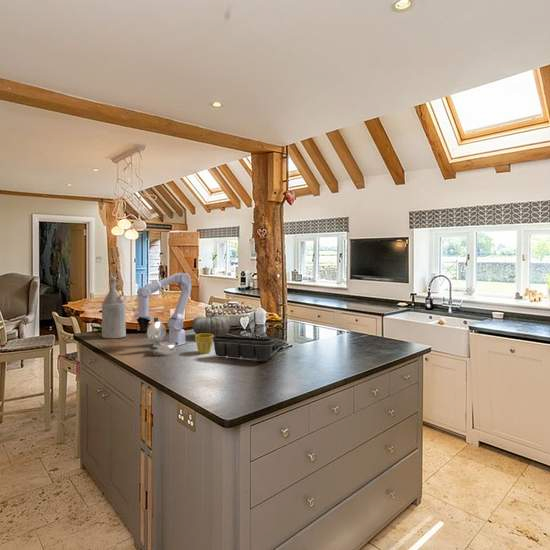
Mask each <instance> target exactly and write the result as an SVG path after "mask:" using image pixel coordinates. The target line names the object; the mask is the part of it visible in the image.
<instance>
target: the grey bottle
mask: <svg viewBox="0 0 550 550" xmlns="http://www.w3.org/2000/svg"><path fill="white" fill-rule="evenodd" d="M109 283H110V285H109V287H110V290H109V291H108V293H107V295H106V296H105V298H104V299H103V301H102V303H101V337H102V338H103V339H120V338H125V337H126V336H127V331H126V330H127V327H126V325H127V321H126V314H127V313H126V302H125V300H126V299H127V297H126V294H120V293H119V292H118V289H120V283H119V282H118V281H117V277H116V276H109ZM117 284H118V286H117ZM116 287H117V289H116ZM122 297H123V298H124V299H123V298H122Z"/></svg>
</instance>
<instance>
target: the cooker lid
mask: <svg viewBox="0 0 550 550" xmlns="http://www.w3.org/2000/svg"><path fill="white" fill-rule="evenodd" d="M166 334H167V329H166V326H165V324H164V323H163V322H161V321H159V316H157V317H153V321H152V322H151V323H149V324H148V326H147V330H146V336H147V338H148V341H150V342H151V343H153V344H155V343H159V342H163V340H164V339H165V337H166Z"/></svg>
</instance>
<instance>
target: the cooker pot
mask: <svg viewBox="0 0 550 550" xmlns="http://www.w3.org/2000/svg"><path fill="white" fill-rule="evenodd" d="M176 345H177V346H179V345H178V343H176V342H175V343H173V342H169V341H161V342H159V343H153V344H152V347H151V346H150V347H149V350H150V351H152V354H153V355H154V356H157V357H158V356H159V357H166V356H167V357H168V356H174V355H175V354H176Z"/></svg>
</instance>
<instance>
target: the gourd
mask: <svg viewBox="0 0 550 550" xmlns="http://www.w3.org/2000/svg"><path fill="white" fill-rule="evenodd" d="M215 314H216V312H215V311H214V312H213V313H212V315H211V316H203V315H199V316H196V317H195V318H194V319H193V321H192V325H191V326H192V327H191V328H192V329H193V332H194V333H195V335H197V334H213V335H214V336H227V335H228V333H229V331H230V329H231V321H230V319H229V318H228V316H225V315H220V316H215Z"/></svg>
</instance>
